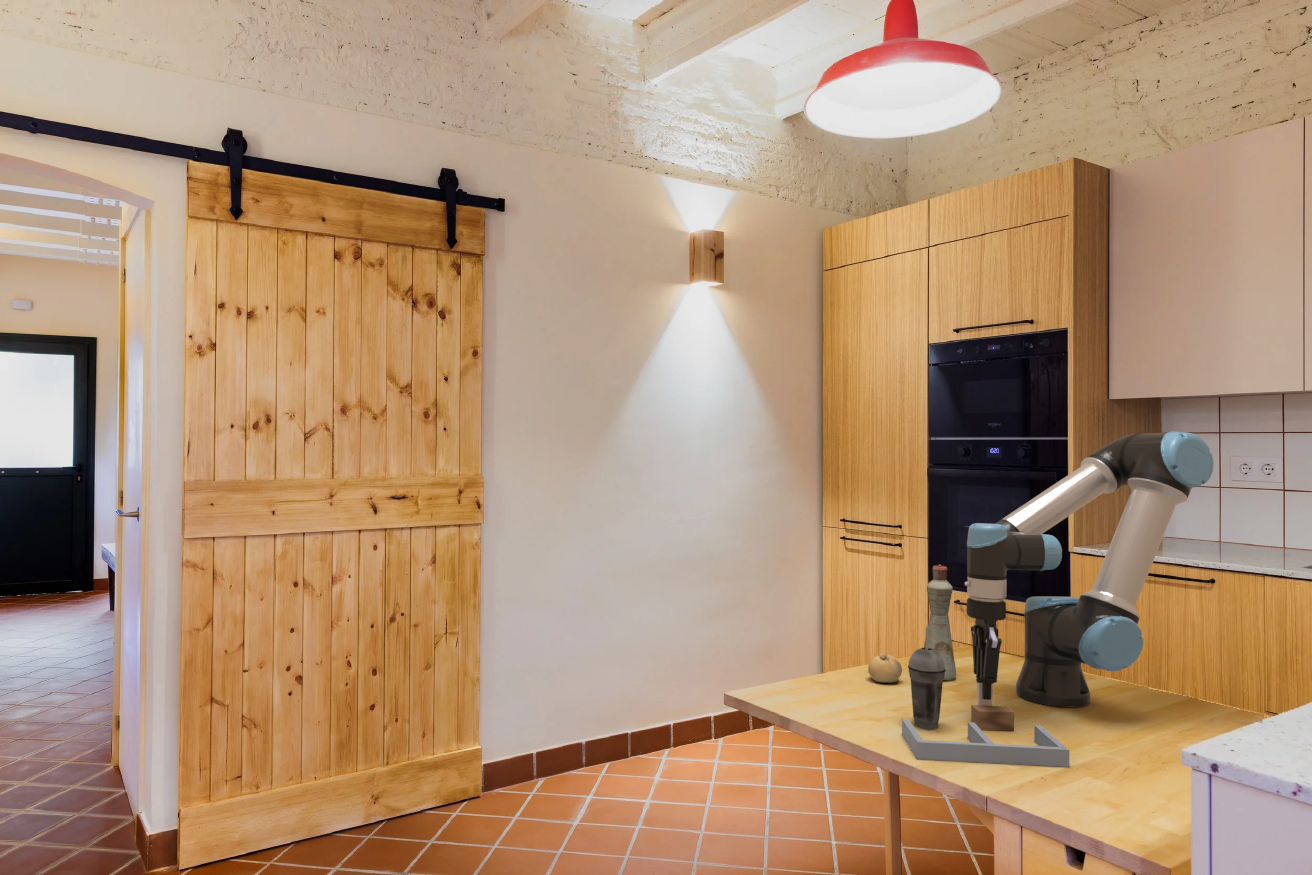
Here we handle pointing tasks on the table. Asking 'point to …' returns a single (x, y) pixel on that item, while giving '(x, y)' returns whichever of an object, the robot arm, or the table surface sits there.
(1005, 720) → the walnut bar
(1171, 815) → the table surface
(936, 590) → the bottle
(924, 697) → the beverage cup
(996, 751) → the slot rack
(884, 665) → the onion
